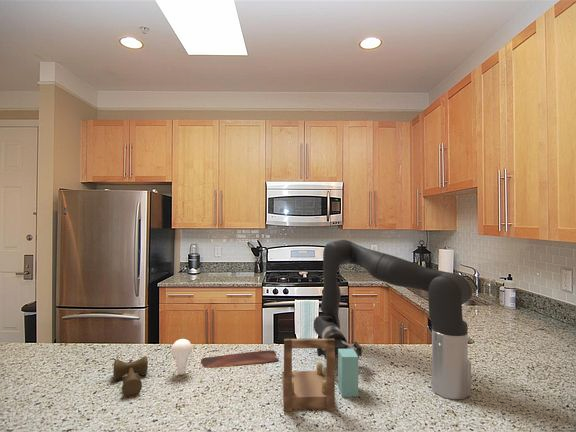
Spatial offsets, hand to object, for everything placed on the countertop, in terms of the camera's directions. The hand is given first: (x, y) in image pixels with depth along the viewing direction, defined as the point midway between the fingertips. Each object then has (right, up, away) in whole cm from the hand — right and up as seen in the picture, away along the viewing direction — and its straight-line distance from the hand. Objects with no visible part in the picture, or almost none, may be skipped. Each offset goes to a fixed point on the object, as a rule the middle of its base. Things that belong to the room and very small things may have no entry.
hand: (342, 357), depth 104 cm
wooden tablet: (-34, -7, +14) cm, 37 cm away
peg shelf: (-12, -6, -9) cm, 16 cm away
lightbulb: (-50, -7, +2) cm, 51 cm away
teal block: (0, -6, -8) cm, 10 cm away
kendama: (-64, -7, -2) cm, 64 cm away
